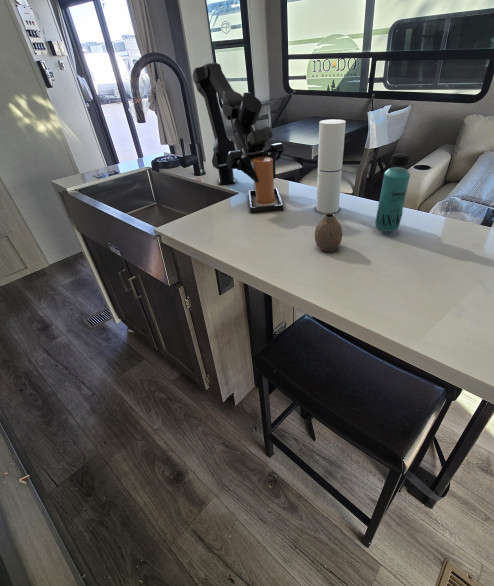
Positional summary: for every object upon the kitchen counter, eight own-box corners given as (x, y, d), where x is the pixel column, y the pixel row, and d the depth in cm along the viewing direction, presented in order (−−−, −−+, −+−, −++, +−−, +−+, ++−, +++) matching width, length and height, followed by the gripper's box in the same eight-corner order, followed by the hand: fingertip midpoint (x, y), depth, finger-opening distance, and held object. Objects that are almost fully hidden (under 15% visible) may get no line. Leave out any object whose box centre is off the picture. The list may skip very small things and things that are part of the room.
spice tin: (255, 198, 105) (252, 157, 97) (273, 196, 105) (271, 156, 97) (256, 204, 100) (253, 162, 92) (275, 203, 100) (273, 161, 92)
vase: (325, 238, 84) (327, 207, 79) (346, 246, 80) (349, 214, 75) (308, 248, 80) (309, 216, 75) (329, 257, 76) (332, 223, 71)
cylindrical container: (328, 215, 96) (333, 124, 81) (311, 209, 101) (314, 122, 86) (343, 208, 100) (351, 120, 85) (326, 203, 104) (331, 118, 89)
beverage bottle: (369, 229, 87) (380, 153, 75) (387, 224, 89) (401, 149, 77) (384, 238, 83) (399, 159, 70) (403, 233, 85) (421, 155, 73)
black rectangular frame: (248, 195, 113) (248, 190, 112) (277, 193, 114) (277, 188, 113) (250, 213, 100) (250, 207, 99) (283, 210, 101) (283, 205, 100)
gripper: (224, 121, 87) (245, 171, 86) (281, 113, 94) (301, 159, 93) (218, 146, 97) (236, 191, 97) (270, 138, 105) (287, 179, 104)
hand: (266, 180), depth 97 cm, fingers closed on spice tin, 6 cm apart
